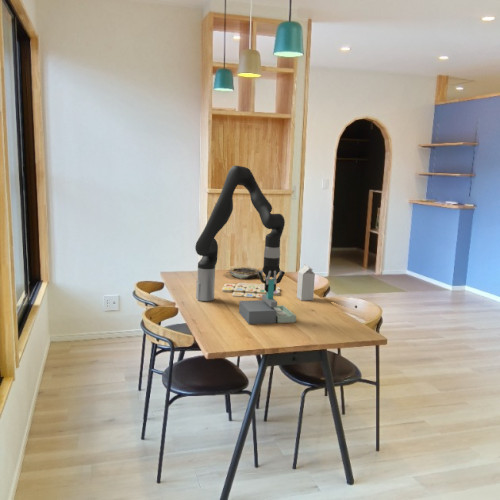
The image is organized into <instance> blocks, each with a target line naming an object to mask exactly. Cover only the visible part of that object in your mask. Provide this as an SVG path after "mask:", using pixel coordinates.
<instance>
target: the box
mask: <svg viewBox="0 0 500 500" xmlns="http://www.w3.org/2000/svg"><path fill="white" fill-rule="evenodd" d="M273 308H280V309H281V310H282V312H285V313H286V314H287V316H278V315H277V314H276V323H277V324H283V323H284V324H285V323H287V324H288V323H296V322H297V315H296V314H294V313H293V312H292V311H291V310H290V309H289V308H287V307H286V306H285V305H284V304H282V305H277V307H273Z"/></svg>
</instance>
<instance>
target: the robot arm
mask: <svg viewBox="0 0 500 500" xmlns="http://www.w3.org/2000/svg"><path fill="white" fill-rule="evenodd" d="M238 186H242V187H244V188H245V190H247V191H248V193H249V195H250V201H251V204H252V207H254V208H255V210H256V212H257V213H258V215H259V217H260V220H261V223H262V225H263V226H264V228H266V229H267V230H271V231H270V233H267V234H266V235H265V242H264V243H265V244H264V252H263V266H262V267H263V268H262V269H261V270H260V271H257V273H258V278H259V281H260V282H261V284H265V291H266V292H268V286H269V285H268V283H269V279H273V280H274V292H275V291H276V287H277V284H280V283H281V281H282V279H283V277H284V275H286V274H285V273H286V272H285V271H284V270H282V269H280V261H281V260H280V259H281V237H282V235H283V232H284V228H285V225H286V224H285V223H286V221H285V217H284V216H283V214H281V213H271V212H272V211H273V206H272V205H271V203H270V201H269V200H268V199H267V198H266V196H265V195H264V193H263V192H262V190H261V188H260V187H259V184H258V183H257V181H256V178H255V177H254V174H253V172H252V170H251V169H250V168H249V167H246V166H241V165H232V166H231V168H230V169H229V170H228V172H227V175H226V178H225V181H224V183H223V186H222V189H221V192H220V194H219V196H218V198H217V201H216V203H215V205H214V207H213V209H212V212H211V214H210V216H209V218H208V221H207V222H206V225H205V227H204V228H203V230H202V232H201V234H200V236H199V237H198V239H197V241H196V244H195V245H194V246H195V247H194V248H195V252H196V254H197V255H198V256H199V257H200V256H202V257H201V259H200V260H199V261H198V263H197V278H196V279H197V280H196V287H195V288H196V290H195V291H196V293H195V294H196V295H195V299H196V300H197V301H198V302H200V301H201V302H211V301H214V300H215V283H216V281H215V280H216V265H217V261H218V253H219V245H218V241H217V240H216V239H215V238H216V236H217V234H218V233H219V232H220V231H221V230H222V229H223V228H224V227H225V226H226V224H227V223H228V222H229V220H230V217H231V215H232V213H233V210H234V199H233V197H234V196H233V195H234V192H236V191H235V190H236V188H237V187H238ZM263 276H264V277H263ZM277 276H278V277H277Z"/></svg>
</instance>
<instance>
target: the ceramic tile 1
mask: <svg viewBox="0 0 500 500" xmlns="http://www.w3.org/2000/svg"><path fill="white" fill-rule="evenodd" d="M276 314H277V315H278V316H287V314H286V313H285V312H276Z"/></svg>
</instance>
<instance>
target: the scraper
mask: <svg viewBox="0 0 500 500" xmlns="http://www.w3.org/2000/svg"><path fill="white" fill-rule="evenodd" d="M268 285H269V286H268V292H267V294H263V295H262V299H261V300H264V301H265V302H266V303H267V304H268V305H269V306H270V307H277V306H278V301H277V300H275V298H274V296H273V293H274V280H273V279H272V278H270V279H269V283H268Z"/></svg>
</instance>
